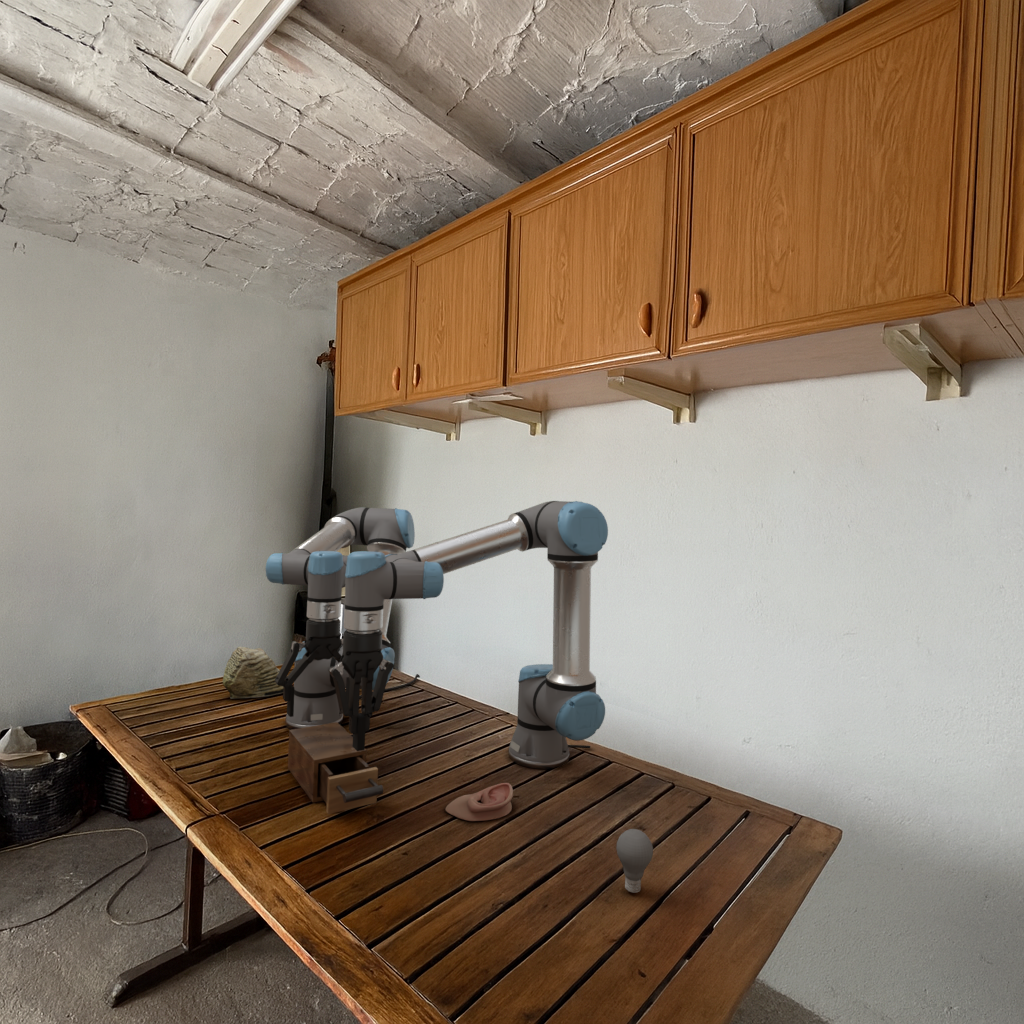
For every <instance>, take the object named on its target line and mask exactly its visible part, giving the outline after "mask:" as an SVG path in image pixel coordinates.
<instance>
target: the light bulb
mask: <svg viewBox="0 0 1024 1024" xmlns="http://www.w3.org/2000/svg"><path fill="white" fill-rule="evenodd" d="M615 849H616V854H617V857H618V859H619V861H620V863H621V865H622V867H623V873H624V874H623V875H624V876H625V878H624V888H625V890H627V891H628V892H630V893H634V894H635V893H639V892H640V891H641V889H642V887H641V886H642V879H643V877H644V875H645V871H646V868H647V867H648V866H649V864H650V863H651V861H652V859H653V855H654V847H653V843H652V841H651V838H649V836H648V835H647V834H646V833H645V832H643V831H642V830H641V829H636V828H629V829H627V830H625V831H623V832H622V833H621V834H620V835H619V837H618V839H617V841H616V847H615Z"/></svg>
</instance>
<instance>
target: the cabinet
mask: <svg viewBox="0 0 1024 1024" xmlns="http://www.w3.org/2000/svg"><path fill="white" fill-rule="evenodd" d="M352 745H353V735H351V733H350V732H349V731H347V730H346V729H345V728H344V727H343V726H342V724H339V723H337V722H335V723H329V724H323V725H317V726H311V727H305V728H299V729H293V730H292V729H289V730H288V748H287V749H288V751H287V753H288V754H287V769H288V770H289V772H290V773H291V775H292V776H293V778H294V779H295V780H296V781H297V783H298V784H299V786H300V787H301V789H302V790H303V791H304V793H305V795H307V797H308V799H309V800H310V802H311V803H317V802H322V801H324V800H323V798H322V797H321V796H320V795H319V793H318V792H317V789H318V764H319V763H324V762H329V761H334V760H339V759H344V758H349V757H354V756H360V757H361V758H362V759H363V760H364V761H365V762H366V763H367V749H366V748H365V750H361V751H357V750H356V749H354V748H353V747H352Z"/></svg>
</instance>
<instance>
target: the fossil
mask: <svg viewBox="0 0 1024 1024" xmlns="http://www.w3.org/2000/svg"><path fill="white" fill-rule="evenodd" d="M279 671H280V669H279V668H278V667H277V665H276V663H275V662H274V660H273V659H272V658H271V657H270V656H269V655H268V654H267V653H266V652H265V650H264V649H263V648H260V647H258V648H251V647H247V646H246V647H245V646H238V647H237V648H236V649H235V650H233V651H232V653H231V656H230V657H229V659H228V660H227V663H226V666H225V668H224V671H223V675H222V676H223V677H222V685H223V687H224V688H225V690H226V691H228V693H229V698H230V699H250V698H264V697H271V696H275V695H281V694H283V686H279V685H277V684H276V683H275V679H276V677H277V675H278V673H279Z"/></svg>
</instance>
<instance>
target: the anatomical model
mask: <svg viewBox="0 0 1024 1024" xmlns="http://www.w3.org/2000/svg"><path fill="white" fill-rule="evenodd" d="M513 796H514V789H513V786H512V784H511V783H509V782H502V783H498V784H495V785H492V786H488V787H486V788H484V789H481V790H479V791H477V792H474V793H472V794H465V795H461V796H459V797H456V798H455V799H454V800H452V801H451V802H449V803H448V804H447V805H446V807H445V810H444V811H445V812H446V813H448V814H449V815H451V816H453V817H455V818H457V819H461V820H463V821H467V822H482V821H490V820H496V819H500V818H503V817H505V816H507V815H509V814H510V813H511V812H512V808H513V806H512V802H511V801H512V799H513Z"/></svg>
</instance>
